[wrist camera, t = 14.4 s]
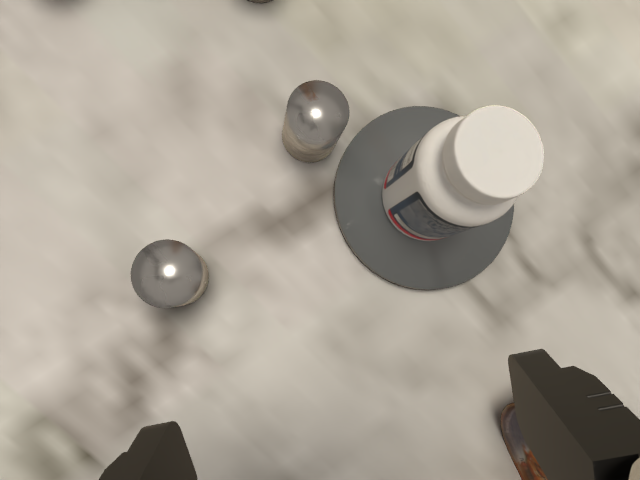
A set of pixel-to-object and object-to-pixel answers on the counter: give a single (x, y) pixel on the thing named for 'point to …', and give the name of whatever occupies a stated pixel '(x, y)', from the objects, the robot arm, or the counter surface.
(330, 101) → the cylinder
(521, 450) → the tin
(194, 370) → the counter surface
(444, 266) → the coaster
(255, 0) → the cylinder
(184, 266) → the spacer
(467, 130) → the pill bottle
